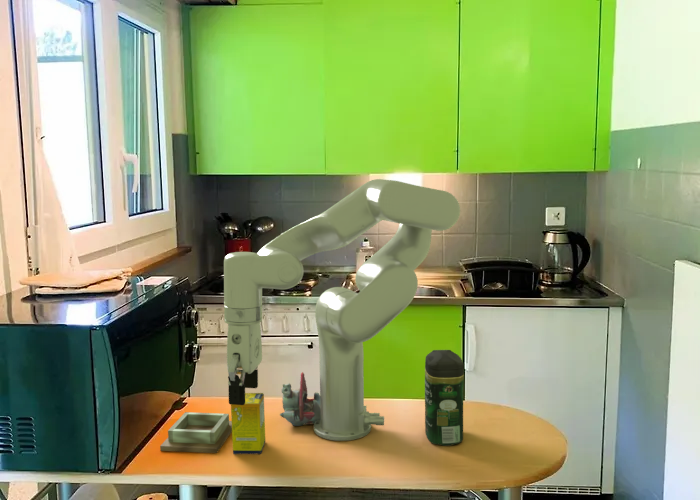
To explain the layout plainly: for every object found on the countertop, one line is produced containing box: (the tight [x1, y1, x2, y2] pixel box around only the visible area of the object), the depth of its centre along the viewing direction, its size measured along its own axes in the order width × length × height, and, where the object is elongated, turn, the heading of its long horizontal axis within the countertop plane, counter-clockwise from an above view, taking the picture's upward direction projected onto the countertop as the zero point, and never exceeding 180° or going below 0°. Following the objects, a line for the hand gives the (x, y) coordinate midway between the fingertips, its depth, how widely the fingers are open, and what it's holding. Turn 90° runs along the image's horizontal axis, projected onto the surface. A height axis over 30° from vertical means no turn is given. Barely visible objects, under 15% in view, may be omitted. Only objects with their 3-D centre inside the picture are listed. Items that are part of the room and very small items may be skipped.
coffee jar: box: [424, 349, 465, 447], centre depth 144 cm, size 10×8×19 cm
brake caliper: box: [279, 371, 321, 427], centre depth 155 cm, size 11×11×12 cm
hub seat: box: [159, 411, 232, 454], centre depth 147 cm, size 12×14×4 cm
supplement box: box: [230, 392, 266, 455], centre depth 141 cm, size 6×6×11 cm
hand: (243, 395), depth 140 cm, fingers open, 9 cm apart
